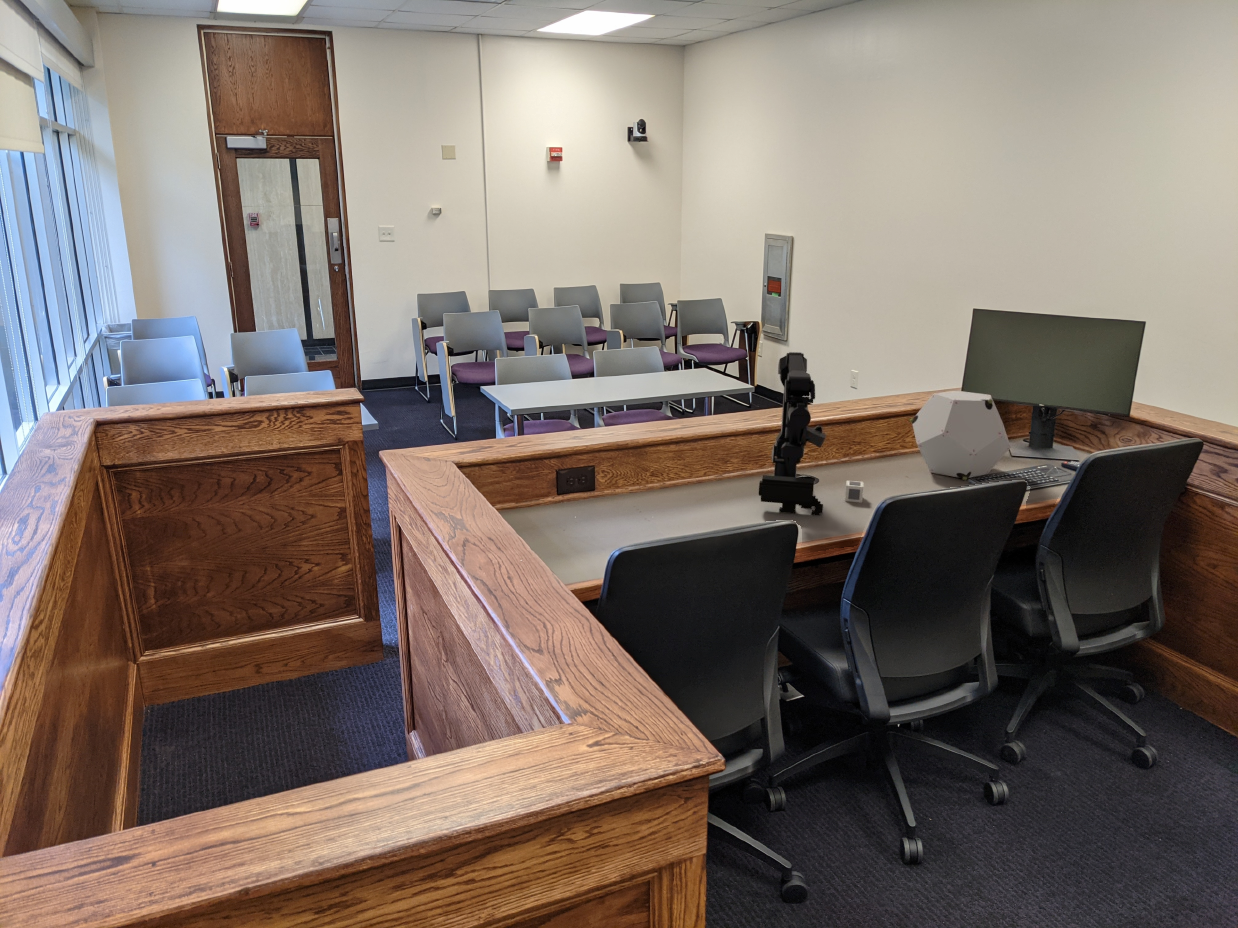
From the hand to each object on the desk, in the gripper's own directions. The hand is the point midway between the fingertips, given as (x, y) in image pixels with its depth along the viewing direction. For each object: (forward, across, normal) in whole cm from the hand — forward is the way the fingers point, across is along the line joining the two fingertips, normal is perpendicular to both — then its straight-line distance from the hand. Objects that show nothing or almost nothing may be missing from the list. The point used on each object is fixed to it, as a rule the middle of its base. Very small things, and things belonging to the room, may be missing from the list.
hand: (792, 470), depth 255 cm
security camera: (+12, -3, 0) cm, 12 cm away
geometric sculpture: (+12, +53, -51) cm, 75 cm away
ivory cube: (+12, +14, -18) cm, 26 cm away
